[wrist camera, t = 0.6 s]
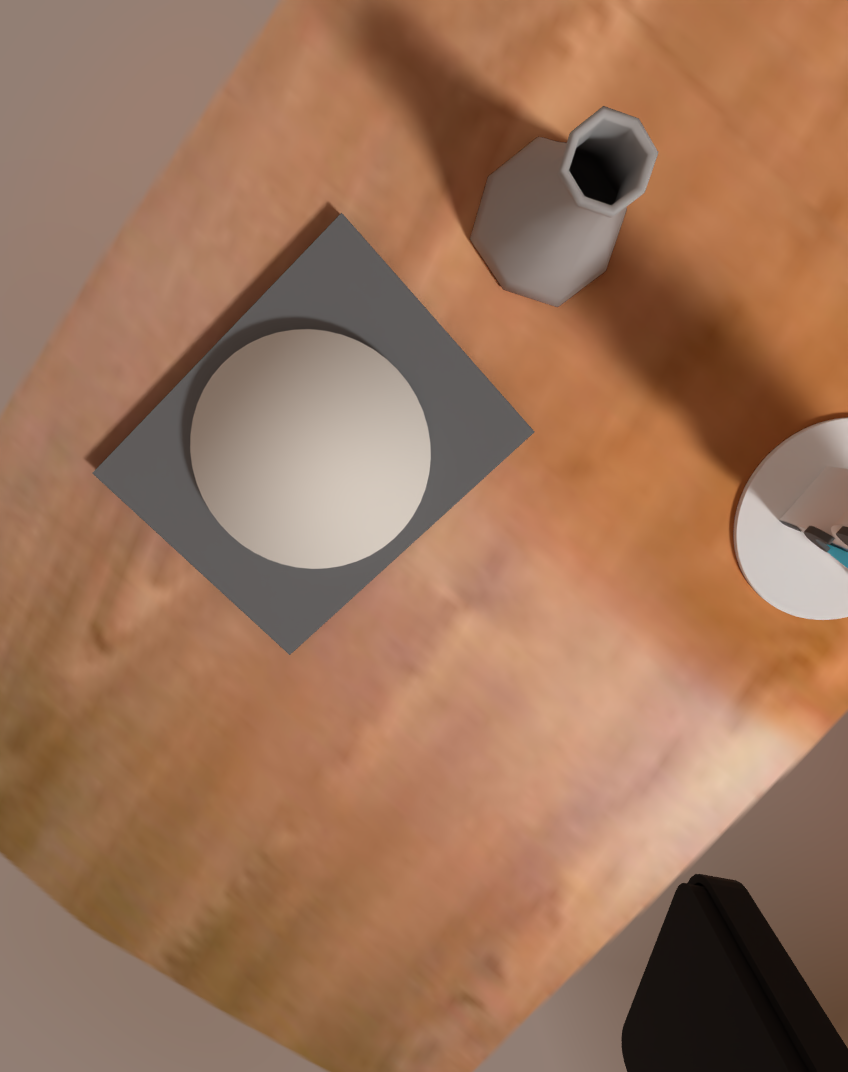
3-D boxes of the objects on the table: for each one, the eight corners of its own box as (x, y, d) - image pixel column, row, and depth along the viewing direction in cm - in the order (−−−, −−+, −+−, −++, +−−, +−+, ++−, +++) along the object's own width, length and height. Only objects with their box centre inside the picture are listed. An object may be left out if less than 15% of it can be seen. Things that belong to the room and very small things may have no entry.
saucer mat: (343, 216, 31) (339, 208, 29) (531, 430, 34) (537, 433, 32) (99, 470, 34) (84, 475, 32) (292, 648, 36) (287, 661, 35)
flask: (443, 245, 31) (459, 189, 22) (533, 108, 30) (592, -16, 20) (559, 333, 33) (623, 318, 23) (650, 206, 31) (759, 133, 22)
